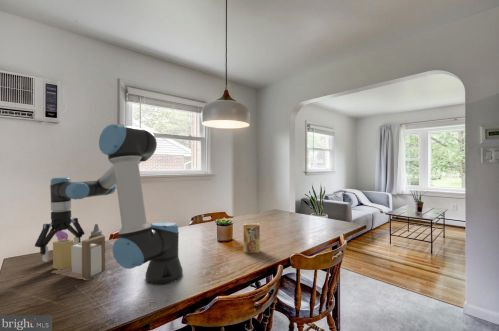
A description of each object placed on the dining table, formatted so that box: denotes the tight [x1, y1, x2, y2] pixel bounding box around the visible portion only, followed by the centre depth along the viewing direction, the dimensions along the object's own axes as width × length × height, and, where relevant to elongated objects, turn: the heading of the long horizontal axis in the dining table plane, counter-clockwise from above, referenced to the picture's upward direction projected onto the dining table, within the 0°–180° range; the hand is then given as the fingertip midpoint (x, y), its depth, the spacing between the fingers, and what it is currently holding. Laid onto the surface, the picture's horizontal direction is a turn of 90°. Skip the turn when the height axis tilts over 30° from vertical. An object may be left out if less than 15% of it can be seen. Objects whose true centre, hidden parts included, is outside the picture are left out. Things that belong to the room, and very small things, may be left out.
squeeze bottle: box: [88, 223, 107, 252], centre depth 122 cm, size 8×8×18 cm
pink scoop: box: [54, 230, 74, 244], centre depth 124 cm, size 8×9×15 cm
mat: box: [85, 267, 112, 281], centre depth 109 cm, size 24×12×1 cm, turn 71°
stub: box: [52, 239, 74, 270], centre depth 112 cm, size 6×5×12 cm
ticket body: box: [71, 235, 106, 278], centre depth 107 cm, size 12×8×16 cm
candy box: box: [243, 222, 261, 253], centre depth 133 cm, size 9×4×15 cm, turn 92°
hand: (61, 255), depth 112 cm, fingers open, 13 cm apart
